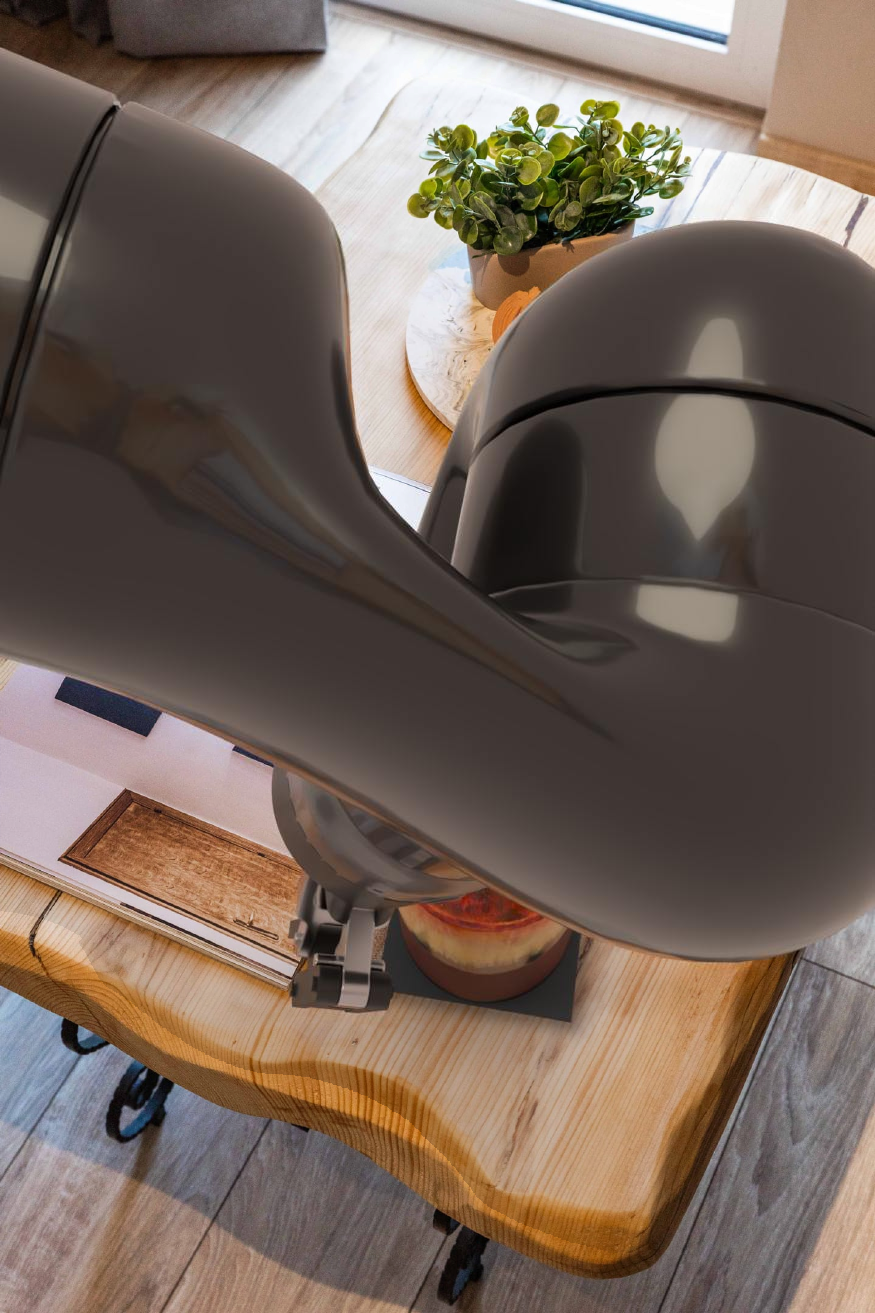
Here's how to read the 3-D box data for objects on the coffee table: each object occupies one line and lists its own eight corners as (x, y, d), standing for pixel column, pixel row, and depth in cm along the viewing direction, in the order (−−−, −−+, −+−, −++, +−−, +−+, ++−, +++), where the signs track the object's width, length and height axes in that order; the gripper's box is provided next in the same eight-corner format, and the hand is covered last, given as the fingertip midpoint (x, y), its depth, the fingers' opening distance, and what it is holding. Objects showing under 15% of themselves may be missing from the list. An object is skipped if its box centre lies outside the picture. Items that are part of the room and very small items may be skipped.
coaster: (376, 989, 68) (375, 988, 68) (409, 824, 74) (409, 823, 74) (570, 1022, 67) (571, 1021, 67) (589, 851, 72) (589, 851, 72)
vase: (486, 1042, 66) (491, 939, 49) (365, 916, 70) (331, 780, 53) (607, 919, 70) (652, 782, 53) (485, 806, 74) (490, 645, 57)
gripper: (321, 517, 33) (262, 656, 48) (253, 1014, 29) (211, 996, 44) (556, 562, 35) (428, 683, 50) (523, 1039, 31) (394, 1014, 46)
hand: (326, 830), depth 47 cm, fingers open, 8 cm apart
